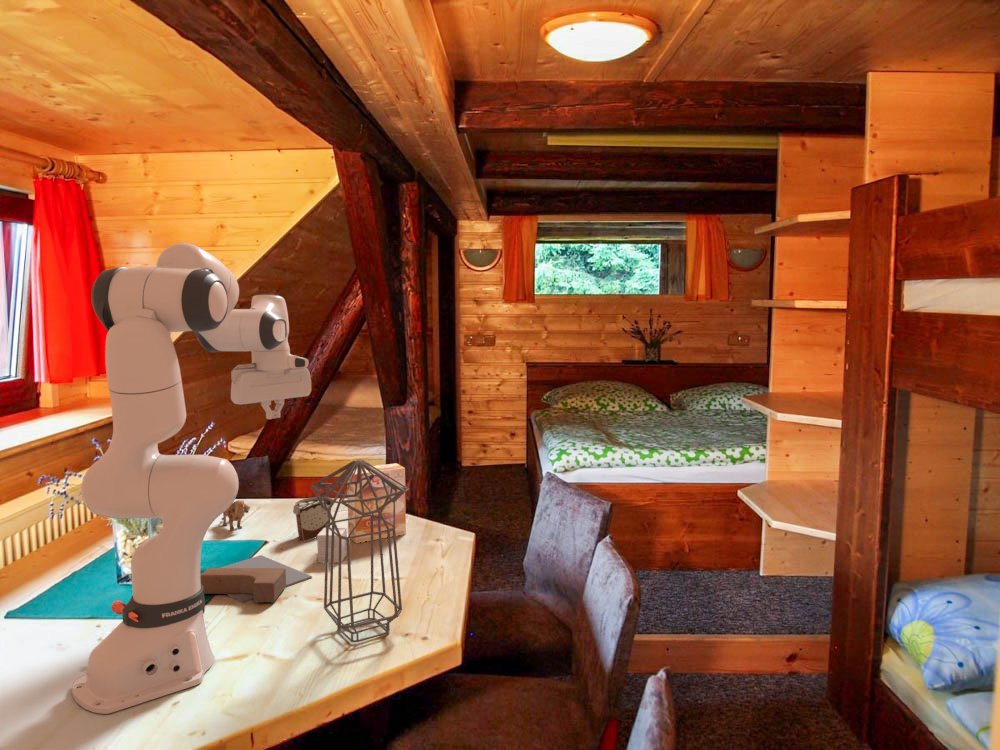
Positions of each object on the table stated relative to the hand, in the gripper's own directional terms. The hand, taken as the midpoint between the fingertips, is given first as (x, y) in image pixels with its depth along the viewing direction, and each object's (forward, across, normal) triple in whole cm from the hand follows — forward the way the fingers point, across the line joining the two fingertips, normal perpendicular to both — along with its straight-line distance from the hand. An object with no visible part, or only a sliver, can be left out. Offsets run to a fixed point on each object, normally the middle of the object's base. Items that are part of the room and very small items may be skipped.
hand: (273, 418), depth 172 cm
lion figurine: (+38, +9, +37) cm, 54 cm away
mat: (+37, -8, -2) cm, 38 cm away
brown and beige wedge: (+38, +19, +14) cm, 44 cm away
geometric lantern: (+37, -9, -44) cm, 58 cm away
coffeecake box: (+38, +31, -1) cm, 49 cm away
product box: (+38, +12, -6) cm, 40 cm away
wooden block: (+35, -10, -16) cm, 39 cm away
